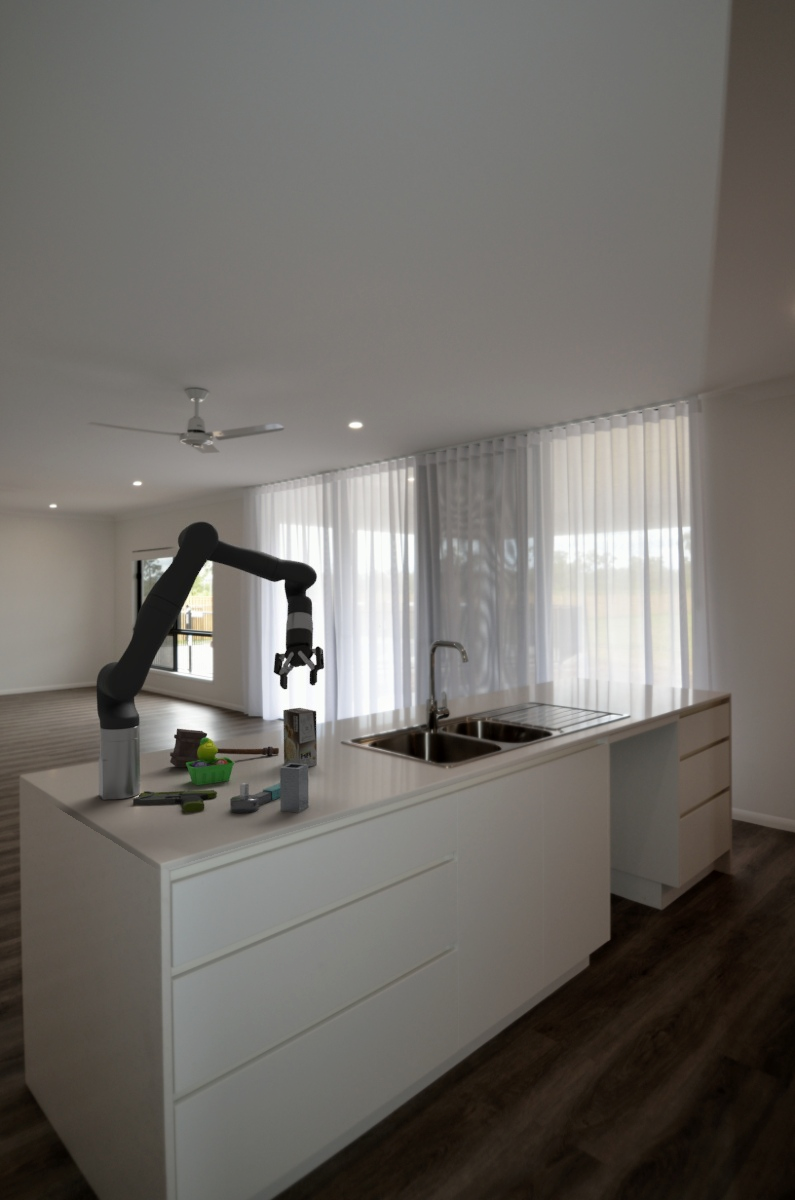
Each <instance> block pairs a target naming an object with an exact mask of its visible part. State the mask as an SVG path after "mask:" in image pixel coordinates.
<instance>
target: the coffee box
mask: <svg viewBox="0 0 795 1200" xmlns="http://www.w3.org/2000/svg"><path fill="white" fill-rule="evenodd" d="M282 717H283V718H282V719H283V764H284V765H287V764H289V763H298V764H308V768H309V767H314V766H318V755H317V754H318V750H317V749H318V747H317V745H318V744H317V743H318V741H317V738H318V737H317V710H313V709H307V708H303V707H296V708H289V709H283V716H282Z"/></svg>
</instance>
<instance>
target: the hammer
mask: <svg viewBox="0 0 795 1200" xmlns="http://www.w3.org/2000/svg"><path fill="white" fill-rule="evenodd" d="M207 736H208V733H207V732H205V731H203V730H198V729H197V730H195V729H186V728H185V729H184V728H177V729H176V733H175V734H174V735H173V738H174V739H175V743H174V748H173V751H172V752H170V753H169V756H170V757H171V758H170V760H169V763H170V764H171V765H173V766H174V767H179V768H188V767H187V765H186V763H188V762H193V761H197V760H200V759H199V758H198V755H197V751H198V748H199V746H200V741H201V739H202V738H207ZM217 749H218V752H217V754H222V755H223V754H224V755H263V756H268V757H272V756H273V755H278V754H279V753H280V749H279V747H273V746H267V747H263V748H218V747H217Z"/></svg>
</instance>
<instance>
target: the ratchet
mask: <svg viewBox="0 0 795 1200" xmlns="http://www.w3.org/2000/svg"><path fill="white" fill-rule="evenodd" d="M249 784H250V783H248V782H242V783H239V795H236V796H232V797H230V801H229V802H230V803H229V805H230V808H229V809H230V810H229V811H230V813H234V814H240V815H241V814H242V815H243V814H244V815H245V814H251V813H254V812H257V811H258V810H259V806H262V805H264V804H266V803H267V804H268V803H269V802H271V801H274V800H277V799H280V782H278V783H276V784H274V785H272V786H269V787H268V786H267V787H265V788H264V789H262V791H260V792H257V793H254V794H250V791H249V790H250V788H249Z"/></svg>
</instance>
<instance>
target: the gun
mask: <svg viewBox="0 0 795 1200" xmlns="http://www.w3.org/2000/svg"><path fill="white" fill-rule="evenodd" d="M217 795H218V792H217V791H216V790H214V789H213V790H212V789H209V790H208V789H207V790H204V789H203V790H182V791H163V792H162V791H161V792H160V791H159V792H155V791H143V792H140V793H139V794H138V796H136V797H134V798H132V801H133V802H132V805H133V806H145V805H147V806H148V805H166V804H167V805H168V804H181V807H182V811H183V812H184V813H185V814H187V813H188V814H190V813H191V814H192V813H199V812H202V811H204V810H205V803H204V800H208V799H213V798H217Z"/></svg>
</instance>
